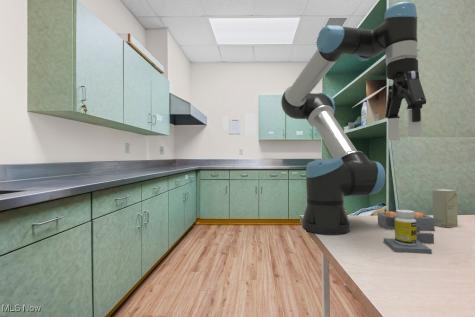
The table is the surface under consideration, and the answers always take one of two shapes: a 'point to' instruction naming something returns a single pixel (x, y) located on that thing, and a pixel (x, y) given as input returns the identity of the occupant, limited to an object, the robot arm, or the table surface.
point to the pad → (407, 247)
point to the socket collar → (424, 236)
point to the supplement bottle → (405, 228)
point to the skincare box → (445, 208)
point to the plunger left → (390, 213)
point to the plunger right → (418, 214)
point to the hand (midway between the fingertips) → (403, 138)
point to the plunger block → (423, 222)
